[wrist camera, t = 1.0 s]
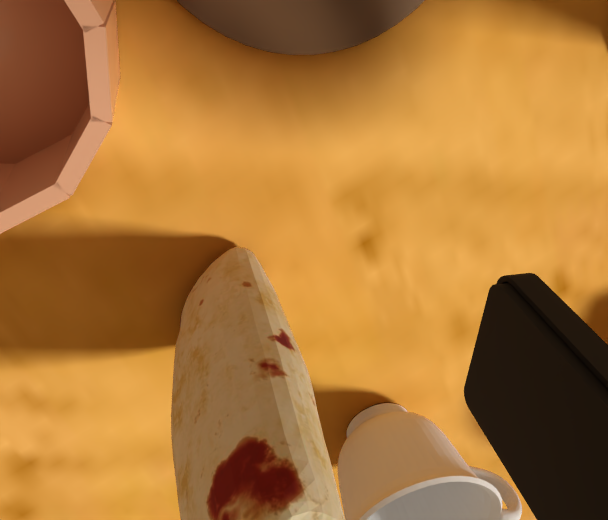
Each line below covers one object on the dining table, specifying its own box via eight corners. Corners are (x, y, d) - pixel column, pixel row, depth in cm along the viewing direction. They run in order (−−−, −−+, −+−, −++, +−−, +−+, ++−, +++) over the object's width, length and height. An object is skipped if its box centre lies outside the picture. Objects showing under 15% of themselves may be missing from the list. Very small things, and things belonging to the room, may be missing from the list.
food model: (193, 223, 33) (233, 531, 17) (294, 246, 36) (413, 534, 20) (153, 347, 38) (154, 688, 21) (246, 360, 40) (311, 674, 24)
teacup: (447, 466, 53) (501, 569, 45) (298, 477, 49) (327, 593, 41) (492, 371, 47) (563, 470, 39) (326, 375, 43) (367, 486, 35)
